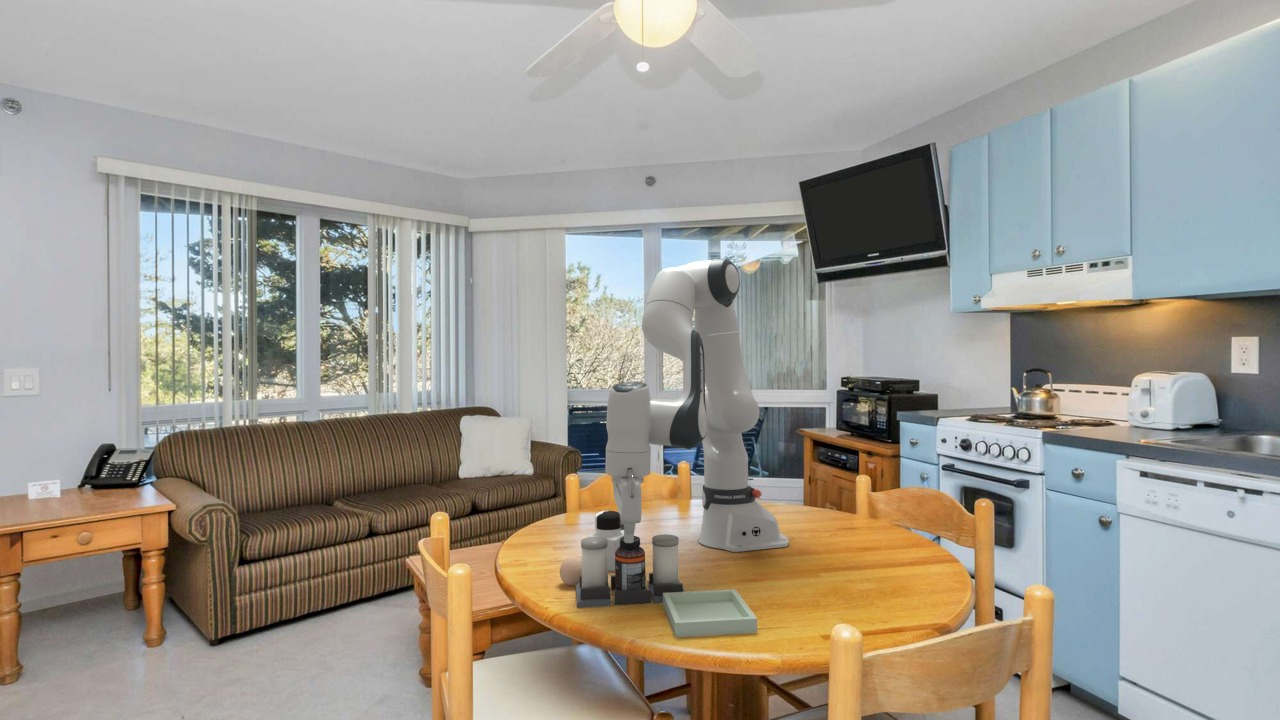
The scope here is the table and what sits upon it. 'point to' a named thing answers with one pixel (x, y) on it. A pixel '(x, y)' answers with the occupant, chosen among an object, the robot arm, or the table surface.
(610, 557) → the medicine bottle
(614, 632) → the table surface
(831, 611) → the table surface
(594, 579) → the fuse holder
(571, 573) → the egg
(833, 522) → the table surface
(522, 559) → the table surface
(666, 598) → the tray
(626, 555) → the supplement bottle
